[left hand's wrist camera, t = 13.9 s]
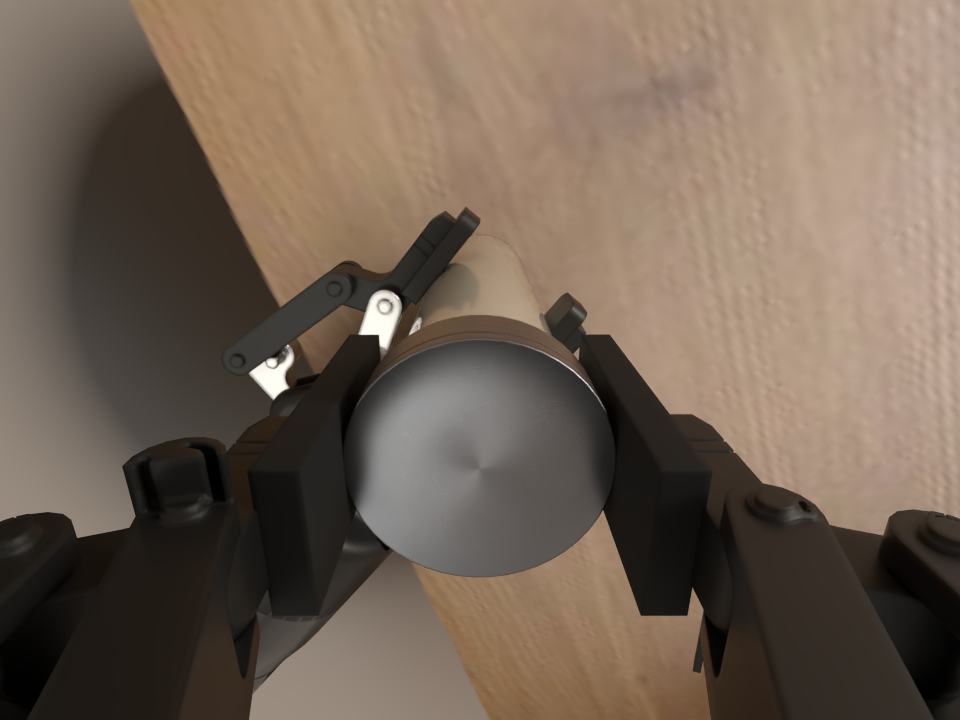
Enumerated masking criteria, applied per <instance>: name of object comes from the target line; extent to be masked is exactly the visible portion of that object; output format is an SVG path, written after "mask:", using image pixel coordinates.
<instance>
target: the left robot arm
mask: <svg viewBox="0 0 960 720" xmlns="http://www.w3.org/2000/svg"><path fill="white" fill-rule="evenodd" d="M380 361H381V355H380V341H379V335H349V337H348V338H347V339H346V341H345V342H344V343H343V345H342V346H341V347H340V349H339V350H338V351H337V353H336V354H335V355H334V357H333V358H332V359H331V361H330V362H329V363H328V365H327V366H326V367H325V369H324V370H323V371H322V372H321V374H320V375H319V376H318V378H317V379H316V380H315V382H314V383H313V384H312V386H311V387H310V388H309V390H308V391H307V392H306V394H305V395H304V396H303V398H302V399H301V400H300V402H299V403H298V404H297V406H296V407H295V408H294V410H293V411H292V412H291V414H290V415H289V416H268V417H266V418H264V419H262V420H261V421H259V422H257V423H255V424H254V425H252V426H250V427H249V428H247V430H246V431H245V432H244V433H243V434H242V435H241V436H240V438H239V439H238V440H237V441H236V444H233V446H232V447H231V448H230V449H229V450H228V451H227V453H226V448H225V445H224V444H222V443H221V442H220V441H218V440H216V439H211V438H205V437H194V438H182V439H177V440H172V441H167V442H164V443H161V444H158V445H156V446H153V447H150V448H147V449H145V450H144V451H142V452H140V453H138V454H136V455H134V456H133V457H131V458H130V459H129V460H128V461H127V462H126V463H125V464H124V465H123V466H122V467H123V470H124V474H125V478H126V482H127V485H128V489H129V493H130V497H131V500H132V504H133V508H134V511H135V515H136V517H135V519H134V520H133V522H132V524H131V526H130V528H126V529H122V530H117V531H112V532H107V533H101V534H96V535H91V536H86V537H81V538H77V537H76V533H75V530H74V527H73V524H72V521H71V519H69V518H68V517H66V516H65V515H64V514H59V513H50V512H45V513H37V514H25V515H21V516H17V517H16V518H14V517H13V518H10V519H6V520H3V521H1V522H0V720H249V715H250V708H251V700H252V693H253V686H254V678H255V671H256V664H257V657H258V649H259V642H260V629H259V622H258V617H257V612H256V611H257V609H258V607H259V605H260V603H261V601H262V599H263V597H264V595H265V593H266V591H267V589H268V594H269V599H270V605H271V611H272V616H319V613H320V611H321V608H322V605H323V602H324V599H325V597H326V594H327V591H328V588H329V585H330V583H331V580H332V577H333V574H334V571H335V568H336V566H337V563H338V560H339V557H340V554H341V552H342V549H343V546H344V543H345V540H346V538H347V535H348V532H349V529H350V526H351V524H352V521H353V518H354V515H355V512H356V508H355V506H354V504H353V502H352V500H351V497H350V495H349V493H348V489H347V485H346V480H345V471H344V461H343V443H344V437H345V432H346V428H347V425H348V422H349V420H350V417H351V414H352V412H353V410H354V408H355V406H356V404H357V402H358V401H359V399H360V397H361V395H362V393H363V391H364V389H365V387H366V385H367V383H368V381H369V379H370V377H371V375H372V373H373V371H374V370H375V368H376V367H377V366H378V364H379V363H380ZM579 362H580V364H581V365H582V366H583V368H584V369H585V371H586V373H587V375H588V376H589V378H590V380H591V382H592V384H593V386H594V388H595V389H596V391H597V393H598V395H599V397H600V399H601V401H602V403H603V405H604V407H605V409H606V411H607V414H608V416H609V419H610V421H611V424H612V426H613V431H614V435H615V440H616V449H617V457H616V467H615V477H614V483H613V488H612V491H611V493H610V496H609V498H608V501H607V503H606V505H605V507H604V509H603V510H604V513H605V516H606V519H607V522H608V524H609V527H610V530H611V533H612V536H613V538H614V541H615V544H616V547H617V550H618V553H619V555H620V558H621V561H622V564H623V567H624V569H625V572H626V575H627V578H628V581H629V583H630V586H631V589H632V592H633V595H634V598H635V600H636V603H637V606H638V609H639V612H640V614H641V616H687V615H688V609H689V603H690V598H691V592H692V587H693V589H694V591H695V593H696V595H697V597H698V599H699V601H700V603H701V605H702V607H703V609H704V612H703V617H702V622H701V627H700V633H699V638H698V643H697V649H696V654H695V659H694V666H693V671H694V672H698V673H700V672H701V667H702V662H703V663H704V670H705V677H706V684H707V692H708V699H709V706H710V714H711V720H960V519H959V518H956V517H953V516H950V515H947V516H946V515H944V514H943V513H938V512H933V511H930V512H929V511H921V510H905V511H897V512H896V513H895V514H893V515H892V516H890V517H889V519H888V523H887V526H886V529H885V532H884V535H883V536H882V535H877V534H872V533H866V532H861V531H856V530H851V529H845V528H840V527H836V526H832V525H829V523H828V521H827V519H826V518H825V516H824V514H823V513H822V512H821V511H820V510H819V509H818V508H817V506H816V505H815V504H813V503H812V502H810V501H809V500H807V499H805V498H804V497H802V496H801V495H799V494H796V493H794V492H792V491H789V490H787V489H784V488H781V487H777V486H772V485H768V484H763V483H762V482H761V481H760V480H759V479H758V478H757V476H756V475H755V474H754V473H753V472H752V471H751V470H750V469H749V467H748V466H747V465H746V464H745V463H744V462H743V461H742V459H741V458H740V457H739V456H738V455H737V454H736V453H734V452H733V449H732V448H731V447H730V446H729V445H728V444H727V442H724V439H723V438H722V437H721V436H720V435H719V433H718V432H717V431H716V430H715V429H714V428H713V427H712V426H711V425H710V424H708V423H706V422H704V421H703V420H701V419H699V418H697V417H696V416H694V415H692V414H669V413H668V411H667V410H666V409H665V407H664V406H663V405H662V403H661V402H660V401H659V399H658V398H657V397H656V395H655V394H654V393H653V391H652V390H651V389H650V388H649V386H648V385H647V384H646V382H645V381H644V380H643V378H642V377H641V376H640V374H639V373H638V372H637V370H636V369H635V368H634V366H633V365H632V364H631V362H630V361H629V360H628V358H627V357H626V356H625V354H624V353H623V352H622V350H621V349H620V348H619V346H618V345H617V344H616V342H615V341H614V340H613V339H612V337H611V336H610V335H581V336H580V351H579Z"/></svg>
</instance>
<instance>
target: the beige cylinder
mask: <svg viewBox="0 0 960 720" xmlns="http://www.w3.org/2000/svg"><path fill="white" fill-rule="evenodd" d="M466 315H493V316H502V317H506V318H511V319H515V320H519V321H522V322H524V323H527V324H529V325H532V326H535V327H537V328H538V329H540V330H542V331H544V332H546V333H548V334H550V335H551V336H552V334H551V332H550V329H549V327H548V325H547V322H546V320H545V317H544V315H543V313H542V310H541V308H540V306H539V303H538V301H537V298H536V296H535V294H534V291H533V289H532V286H531V284H530V282H529V279H528V277H527V274H526V272H525V270H524V267H523V265H522V263H521V261H520V259H519V257H518V255H517V254H516V252H515V251H514V250H513V249H512V248H511V247H510V246H509V245H507V244H506V243H505V242H503V241H501V240H499V239H497V238H494V237H491V236H485V235H475V236H470V237H469V239H468V240H467V241H466V242H465V244H464V245H463V246H462V247H461V249H460V250H459V251H458V252H457V254H456V255H455V256H454V257H453V259H452V260H451V261H450V263H449V264H448V265H447V266H446V268H445V269H444V270H443V271H442V273H441V274H440V275H439V276H438V278H437V279H436V280H435V281H434V282H433V283H432V285H431V286H430V287H429V289H428V290H427V292H426V293H425V295H424V298H423V300H422V303H421V305H420V307H419V310H418V312H417V314H416V317H415V319H414V322H413V324H412V326H411V329H410V331H409V334H408V336H409V335H410V334H412V333H414V332H415V331H417V330H419V329H421V328H423V327H425V326H428V325H430V324H432V323H435V322H438V321H441V320H445V319H448V318H452V317H459V316H466Z"/></svg>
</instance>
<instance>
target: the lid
mask: <svg viewBox="0 0 960 720" xmlns="http://www.w3.org/2000/svg"><path fill="white" fill-rule="evenodd" d="M616 457H617V449H616V440H615V435H614V431H613V426H612V424H611V421H610V419H609V416H608V414H607V411H606V409H605V407H604V405H603V403H602V401H601V399H600V397H599V395H598V393H597V391H596V389H595V388H594V386H593V384H592V382H591V380H590V378H589V376H588V375H587V373H586V371H585V369H584V368H583V366H582V365H581V364H580V362H579V361H578V360H577V358H576V357H575V356H574V355H573V354H572V353H571V352H570V351H569V350H568V349H567V348H566V347H565V346H564V345H563V344H562V343H560V342H559V341H558V340H556V339H555V338H554V337H552V336H551V335H550V334H548V333H546V332H544V331H542V330H540V329H538V328H537V327H535V326H532V325H529V324H527V323H524V322H522V321H519V320H515V319H511V318H506V317H502V316H493V315H466V316H459V317H452V318H448V319H445V320H441V321H438V322H435V323H432V324H430V325H428V326H425V327H423V328H421V329H419V330H417V331H415V332H414V333H412V334H410V335H409V336H407V337H406V338H404V339H403V340H402V341H400V342H399V343H398V344H397V345H395V346H394V347H393V348H392V349H391V350H390V351H389V352H388V353H387V354H386V355H385V356H384V357H383V359H382V360H381V361H380V363H379V364H378V366H377V367H376V368H375V370H374V371H373V373H372V375H371V377H370V379H369V381H368V383H367V385H366V387H365V389H364V391H363V393H362V395H361V397H360V399H359V401H358V402H357V404H356V406H355V408H354V410H353V412H352V414H351V417H350V420H349V422H348V425H347V428H346V432H345V437H344V443H343V461H344V471H345V480H346V485H347V489H348V493H349V495H350V497H351V500H352V502H353V504H354V506H355V508H356V510H357V512H358V513H359V515H360V517H361V518H362V520H363V521H364V522H365V524H366V525H367V526H368V527H369V529H370V530H371V531H372V532H373V533H374V534H375V535H376V536H377V537H378V538H379V539H380V540H381V541H382V542H383V543H384V544H385V545H387V546H388V547H389V548H391V549H392V550H393V551H395V552H396V553H398V554H399V555H401V556H403V557H405V558H406V559H408V560H410V561H412V562H414V563H416V564H418V565H421V566H423V567H425V568H428V569H432V570H435V571H438V572H441V573H446V574H451V575H456V576H466V577H494V576H503V575H509V574H513V573H518V572H522V571H525V570H528V569H531V568H534V567H537V566H539V565H541V564H543V563H545V562H548V561H550V560H552V559H553V558H555V557H557V556H558V555H560V554H562V553H563V552H565V551H566V550H568V549H569V548H570V547H571V546H573V545H574V544H575V543H576V542H578V541H579V540H580V539H581V538H582V537H583V536H584V535H585V534H586V533H587V532H588V531H589V529H590V528H591V527H592V525H593V524H594V523H595V522H596V520H597V519H598V518H599V516H600V514H601V512H602V511H603V509H604V507H605V505H606V503H607V501H608V498H609V496H610V493H611V491H612V488H613V483H614V477H615V467H616Z"/></svg>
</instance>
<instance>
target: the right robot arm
mask: <svg viewBox="0 0 960 720" xmlns="http://www.w3.org/2000/svg"><path fill="white" fill-rule="evenodd" d="M479 224H480V218H479V217H477V216H476V215H475V214H474V213H473V212H471V211H470V210H469V209H468V208H467V207H465V208H464V210H463V211H462V212H461V213H460V215H459V216H458V217H457V219H455V218H454V217H452V216H451V215H450V214H449V213H448V212H446V211H445V212H443V213H441V214H439V215H438V216H436V217H434V218H433V219H432V220H431V221H430V223H429V224H428V225H427V227H426V228H425V229H424V230H423V232H422V233H421V234H420V236H419V237H418V238H417V240H416V241H415V242H414V244H413V245H412V246H411V248H410V249H409V250H408V252H407V253H406V254H405V256H404V257H403V258H402V260H401V261H400V262H399V263H398V265H397V266H396V267H395V269H393V270H392V271H390V272H388V273H384V274H379V273H374V272H371V271H368V270H366V269H363V268H362V267H361V266H360V265H359V264H358V263H356V262H354V261H344V262H342V263H340V264H339V265H337V266H336V267H335V268H333V269H332V270H331V271H329V272H328V273H326V274H325V275H323V276H322V277H321V278H319V279H318V280H317V281H315V282H314V283H313V284H311V285H310V286H309V287H307V288H306V289H305V290H303V291H302V292H301V293H299V294H298V295H297V296H295V297H294V298H293V299H291V300H290V301H289V302H287V303H286V304H285V305H283V306H282V307H281V308H279V309H278V310H277V311H276V312H274V313H273V314H271V315H270V316H269V317H268V318H266V319H265V320H263V321H262V322H261V323H260V324H258V325H257V326H256V327H254V328H253V329H252V330H250V331H249V332H248V333H246V334H245V335H244V336H242V337H241V338H240V339H238V340H237V341H236V342H234V343H233V344H232V345H230V346H229V347H228V348H226V349H225V350H224V352H223V353H222V364H223V366H224V367H225V369H226V370H227V371H228V372H230V373H232V374H234V375H238V376H242V375H246V374H248V373H249V374H250V376H251V377H252V378H253V379H254V380H255V381H256V382H257V383H258V384H259V385H260V386H261V387H262V389H263V390H264V391H265V392H266V393H267V394H268V395H269V396H270V397H271V398H272V399H273V403H272V405H271V408H270V416H289V415H290V414H291V412H292V411H293V410H294V408H295V407H296V406H297V404H298V403H299V402H300V400H301V399H302V398H303V396H304V395H305V394H306V392H307V391H308V390H309V388H310V387H311V386H312V384H313V383H314V382H315V380H316V379H317V378H318V376H319V375H320V374H321V373H319V374H315V375H311V376H307V377H303V378H299V379H296V377H295V376H294V373H293V365H294V363H295V362H296V360H297V359H298V358H299V357H300V355H301V346H300V344H299V342H298V341H297V340H296V338H297V337H299V336H300V335H302V334H303V333H304V332H306V331H307V330H308V329H310V328H311V327H312V326H314V325H315V324H317V323H318V322H319V321H321V320H322V319H323V318H325V317H326V316H328V315H329V314H330V313H332V312H333V311H334V310H336V309H337V308H338V307H340V306H341V305H345V306H348V307H351V308H354V309H357V310H360V311H363V312H365V315H364V318H363V322H362V325H361V328H360V331H359V334H358V335H379V341H380V355H381V360H382V359H383V357H384V356H385V355H386V354H387V353H388V352H389V351H390V350H391V349H392V346H393V344H394V341H395V338H396V334H397V331H398V328H399V325H400V322H401V319H402V316H403V313H404V310H405V309H406V308H407V307H408V305H409V304H410V303H411V302H413V303H414V304H415V305H416V304H417V303H418V302H419V301H420V299H421V298H422V297H423V295H424V294H425V293H426V292H427V290H428V289H429V287H430V286H431V285H432V283H433V282H434V281H435V280H436V279H437V278H438V276H439V275H440V274H441V273H442V271H443V270H444V269H445V268H446V266H447V265H448V264H449V263H450V261H451V260H452V259H453V257H454V256H455V255H456V254H457V252H458V251H459V250H460V249H461V247H462V246H463V245H464V244H465V242H466V241H467V240H468V239H469V237H470V236H471V235H472V233H473V232H474V231H475V229H476V228H477V227H478V225H479ZM586 316H587V312H586V310H585V309H584V307H583V306H582V305H581V303H579V302H578V301H577V300H576V299H575V298H573V297H572V296H571V295H570V294H569V293H565V294H564V295H562V296H561V297H560V298H559V299H558V300H557V301H556V303H555V304H554V305H553V306H552V307H551V308H550V309H549V311H548V312H547V313H546V314H545V315H544V317H545V320H546V322H547V325H548V327H549V329H550V332H551V334H552V337H554V338H555V339H556V340H558V341H559V342H560V343H562V344H563V345H564V346H565V347H566V348H567V349H568V350H569V351H570V352H571V353H572V354H573V353H574V352H575V351H576V350H577V349H578V348H579V347H580V336H581V335H585V334H586V332H585V330H584V329H583V327H582V325H581V324H582V323H583V321H584V320H585V318H586ZM392 552H393V550H392V549H391V548H389V547H388V546H387V545H385V544H384V543H383V542H382V541H381V540H380V539H379V538H378V537H377V536H376V535H375V534H374V533H373V532H372V531H371V530H370V529H369V527H368V526H367V525H366V524H365V522H364V521H363V520H362V518H361V517H360V515H359V513H358V512H357V510H356V512H355V515H354V518H353V521H352V524H351V526H350V529H349V532H348V535H347V538H346V540H345V543H344V546H343V549H342V552H341V554H340V557H339V560H338V563H337V566H336V568H335V571H334V574H333V577H332V580H331V583H330V585H329V588H328V591H327V594H326V597H325V599H324V602H323V605H322V608H321V611H320V613H319V616H272V611H271V605H270V599H269V594H268V589H267V591H266V593H265V595H264V597H263V599H262V601H261V603H260V605H259V607H258V609H257V611H256V612H257V617H258V622H259V629H260V642H259V649H258V657H257V664H256V671H255V678H254V686H253V693H254V692H255V691H256V690H257V689H258V688H259V687H260V685H261V684H262V683H263V682H264V681H265V680H266V679H267V678H268V677H269V676H270V675H271V674H272V672H273V671H274V670H275V669H276V668H277V667H278V666H279V665H280V664H281V663H282V662H283V661H284V660H285V659H286V658H288V657H289V656H290V655H291V654H293V653H294V652H296V651H297V650H298V649H300V648H301V647H302V646H303V645H305V644H306V643H307V642H308V641H309V640H310V639H311V638H312V637H313V636H314V635H315V634H316V633H317V632H318V631H319V630H320V629H321V628H322V627H323V626H324V625H325V624H326V622H327V621H328V620H329V619H330V618H331V617H332V616H333V615H334V614H335V613H336V612H337V611H338V610H339V609H340V607H341V606H342V605H343V604H344V603H345V602H346V601H347V600H348V599H349V598H350V596H351V595H352V594H353V593H354V592H355V591H356V590H357V589H358V588H359V587H360V586H361V585H362V584H363V583H364V582H365V581H366V580H367V578H368V577H369V576H370V575H371V574H372V573H373V572H374V571H375V570H376V569H377V568H378V567H379V566H380V564H381V563H382V562H383V561H384V560H385V559H386V558H387V557H388V556H389V555H390V554H391V553H392ZM253 693H252V694H253Z"/></svg>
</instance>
